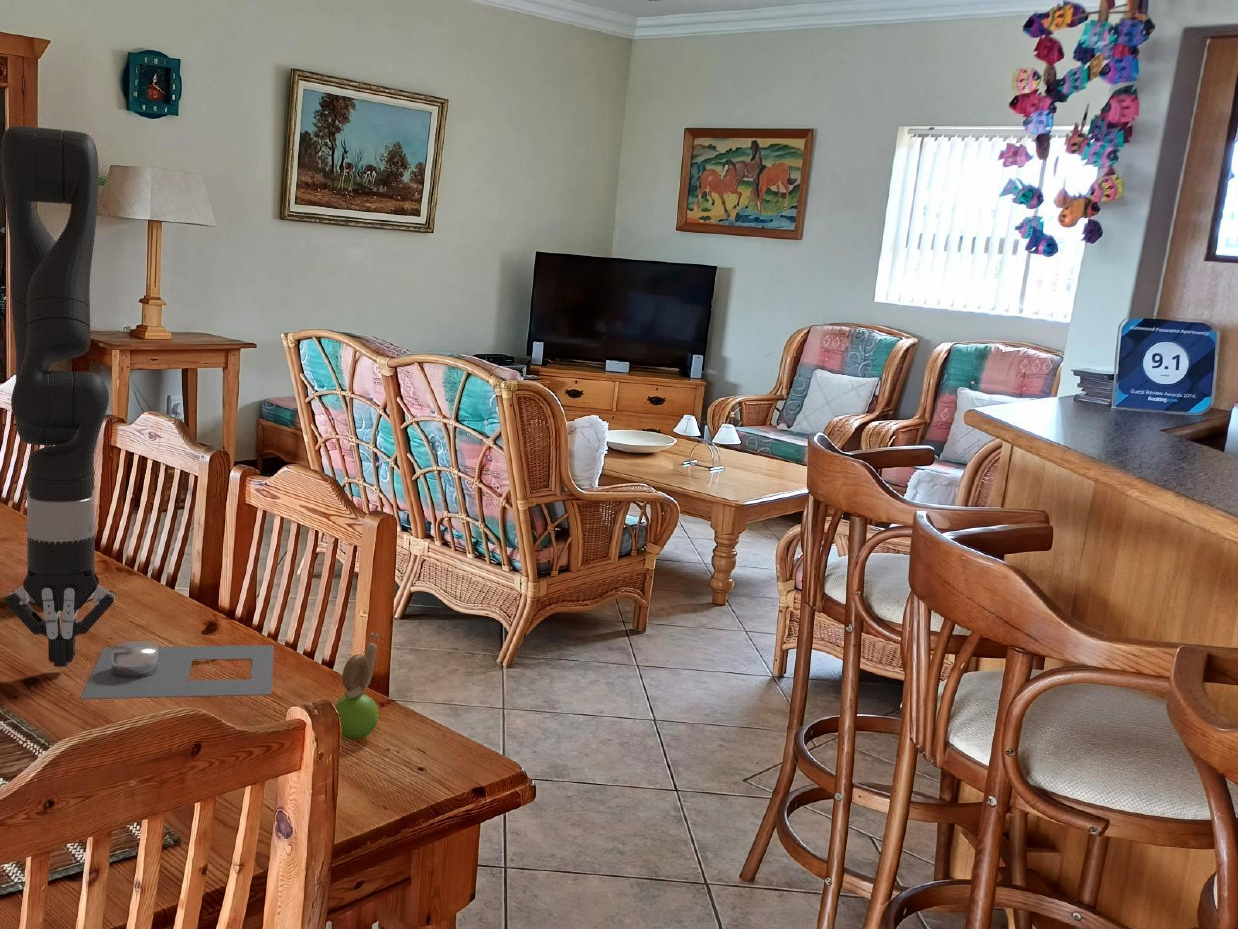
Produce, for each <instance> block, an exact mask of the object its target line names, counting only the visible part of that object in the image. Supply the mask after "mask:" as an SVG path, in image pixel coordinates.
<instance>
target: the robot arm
mask: <svg viewBox="0 0 1238 929" xmlns="http://www.w3.org/2000/svg"><path fill="white" fill-rule="evenodd" d="M97 150H98V149H97V147H96V143H95V141H94V139H93V137H92V136H90V134H87V133H86V132H80V131H75V130H66V129H65V130H64V129H63V130H62V129H60V128H59V129H56V128H47V127H38V126H36V127H35V126H23V125H22V126H21V125H18V126H17V125H14V126H9V127H8V128H7V129H6V130H5V131H4V133H3V135H2V139H1V144H0V165H1V175H2V185H3V192H4V199H5V201H4V202H5V209H6V215H7V217H6V218H7V225H8V233H9V249H10V252H9V253H10V254H9V256H10V259H9V260H10V262H9V263H10V299H11V300H10V301H11V314H12V315H11V316H12V323H13V334H14V344H15V383H14V387H13V390H12V394H11V398H10V406H11V412H12V414H13V416H14V419H15V427H16V432H17V435H18V437H19V439H20V440H21V441H22V442H23V443H25V444H27V445H32V446H33V445H34V446H46V447H42V448H38V449H36V450H33V452H32V453H31V455H30V457H29V462H28V473H27V476H26V508H27V509H26V510H27V511H26V512H27V513H26V524H25V528H26V531H25V532H26V535H27V537H26V538H27V539H26V540H27V541H26V542H27V543H26V545H27V550H26V551H27V553H26V554H27V572H26V576H25V578H24V580H23V581H22V586H20V587H19V588H18V589H16V590H12V591H10V593H8V595H6V598H5V599H4V604H5V606H7V607H8V608H9V609H10V610H11V611H12V612H13V613H14V615H15V616H17V617H18V620H20V621H21V623H23V624H24V625H25V627H26V628H27V629H29V631H30V632H31V634H33V635H37V636H38V635H41V636H45V637H46V638H47V640H48V656H47V657H48V658H47V659H48V660H49V663H53V667H54V668H55V667H56V668H57V667H58V668H59V667H60V668H61V667H63V668H64V667H65V668H66V667H68V666H69V664H70V663H72V661H73V660H74V658H75V656H76V636H79V635H85V634H87V633H88V631H90V629H92V627H93V626H94V625H95V624H96V623H97V621H98V620H100V618H101V617H102V615H104V613H105V612H106V611H107V610H108V609H109V608H110V607H111V606H112V605H113V603H114V601H115V600H116V597H117V593H116V591H114V590H107V589H106V588H104V587H103V586H102V585H100V580H99V577H98V575H97V574H96V571H95V570H96V569H95V568H96V567H95V558H96V557H95V555H96V554H95V553H96V552H95V548H96V546H95V540H96V539H95V536H96V535H95V534H96V533H95V532H96V531H95V530H96V528H95V525H96V524H95V520H96V519H95V518H96V517H95V465H94V464H95V463H94V462H95V452H96V446H97V443H98V439H99V435H100V433H101V432H100V431H101V429H102V426H103V423H104V421H105V417H106V414H107V411H108V406H109V403H110V394H109V388H108V385H107V384H106V383H105V380H104V379H103V378H102V376H100V375H98V373H96V372H95V373H94V372H90V371H70V370H69V371H66V370H65V371H61V370H60V371H59V370H49V369H50V367H51V366H52V365H53V363H56V362H60V361H64V360H69V359H74V358H78V357H81V356H83V355H85V354H87V353H88V351H89V350H90V347H91V343H92V341H91V337H92V336H91V335H92V334H91V304H90V303H91V302H90V301H91V299H90V295H91V294H90V291H91V290H90V287H91V284H90V283H91V282H90V281H91V272H92V271H91V270H92V261H93V260H92V259H93V255H94V253H93V252H94V246H95V236H96V225H97V224H96V223H97V211H98V199H99V198H98V196H99V185H100V184H99V180H100V179H99V177H100V176H99V171H100V170H99V157H98V151H97ZM36 202H37V203H47V204H48V203H50V204H65V205H70V206H71V207H70V213H69V216H68V220H67V223H66V224H65V227H64V229H63V231H62V232H61V234H60V236H59V237H58V238H57V240H56V239H55V238H54V237H53V236H52V234H51V233H50V232H49V230H48V229H47V228H46V226H45V224H44V221H42V218H41V216H40V215H39V212H38V210H37V208H36V205H35V203H36ZM92 599H93V600H92ZM90 600H92V603H93V605H94V606H93V607H92V609H91V610H90V611H89V612H88V613H87V614H86V616H84V618H83V619H82V620H81V621H77V620H78V613H79V610H80V609H81V608H82V607H83V606H84V605H85V604H86V602H87V601H90ZM29 602H30V603H32V604H36V605H37V606H38V607H39V609H41V610H43V615H44V617H42V616H41V615H40V614H39V613H38V612H37V611H36V609H35V608H34V607H33V606H32V605H31V604H30V603H29ZM61 612H62V619H61ZM61 620H62V621H61Z"/></svg>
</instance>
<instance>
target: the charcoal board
mask: <svg viewBox="0 0 1238 929" xmlns="http://www.w3.org/2000/svg"><path fill="white" fill-rule="evenodd" d="M113 647H114V646H112V647H111V646H109V647H108V646H107V647H105V646H103V648H102V651H101V652H100V654H99V657H98V659H97V661H96V664H95V665H94V667H93V670H92V672H91V674H90V677H89V678H88V681H87V683H86V685H85V688H84V689H83V691H82V694H81V696H80V698H79V699H80V700H102V699H140V698H141V699H143V698H181V697H183V698H185V697H186V698H187V697H188V698H189V697H190V698H191V697H229V696H235V697H236V696H267V695H269V696H270V695H272V694H273V693H272V692H273V691H272V689H273V672H274V671H273V670H274V650H275V645H266V644H265V645H262V644H261V645H202V646H201V645H200V646H199V645H196V646H194V645H191V646H189V645H188V646H187V645H186V646H185V645H184V646H182V645H181V646H179V645H178V646H158V671H157V672H156V673H155V674H153V675H151V676H148V677H143V678H135V679H127V678H120V677H116V676H114V675H113V674H112V648H113ZM208 660H209V661H210V660H211V661H213V660H215V661H216V660H218V661H219V660H222V661H223V660H251V670H250V678H249V679H203V680H202V679H200V680H199V679H198V680H194V679H193V680H189V677H190V673H191V669H192V664H193V661H208Z"/></svg>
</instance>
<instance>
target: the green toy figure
mask: <svg viewBox="0 0 1238 929" xmlns="http://www.w3.org/2000/svg"><path fill="white" fill-rule="evenodd" d="M368 636H369V638H370V643H368V644H367V645H366V648H365V652H366V655H363V654H361V653H360V654H359V653H358V654H354V655H352V656H351V657H350V658H349V659H347V661H346V662H345V665H344V668H343V670H342V673H341V674H342V676H341V681H342V686H343V687H344V688H345V690H346V691H344V693H343V696H342V697H341V698H339V699H338V700H337V702H336V703H335V704H334V706H336V708H337V711H338V712H339V717H340V722H341V727H342V736H341V737H343V738H345V739H348V740H360V739H363V738H365V737H367V736H369V735H370V734H372V732H373V731H374V730H375V729H376V727H377V725H378V723H379V722H378V721H379V715H380V714H379V708H378V706H377V703H376V702H375V701H374V699H373V698H372V697H370V696H369V695H367V694H364V692H365V691H366V689H367V688H368V686H369V685H370V684H371V680H372V677H373V673H374V668H375V663H376V653H377V651H378V646H377V642H378V641H377V640H378V638H379V634H378V633H373V632H371V633H369V635H368ZM373 637H374V638H375V643H373V641H372V640H373Z"/></svg>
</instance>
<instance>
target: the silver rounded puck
mask: <svg viewBox="0 0 1238 929" xmlns="http://www.w3.org/2000/svg"><path fill="white" fill-rule="evenodd" d="M112 647H113V648H112V674H113V675H114V676H116V677H120V678H127V679H135V678H143V677H148V676H151V675H153V674H155V673H156V672H157V671H158V647H159V646H158V645H157V644H156V643H154V642H150V641H143V640H136V641H134V640H133V641H125V642H122V643H118V644H116V645H114V646H112Z"/></svg>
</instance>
